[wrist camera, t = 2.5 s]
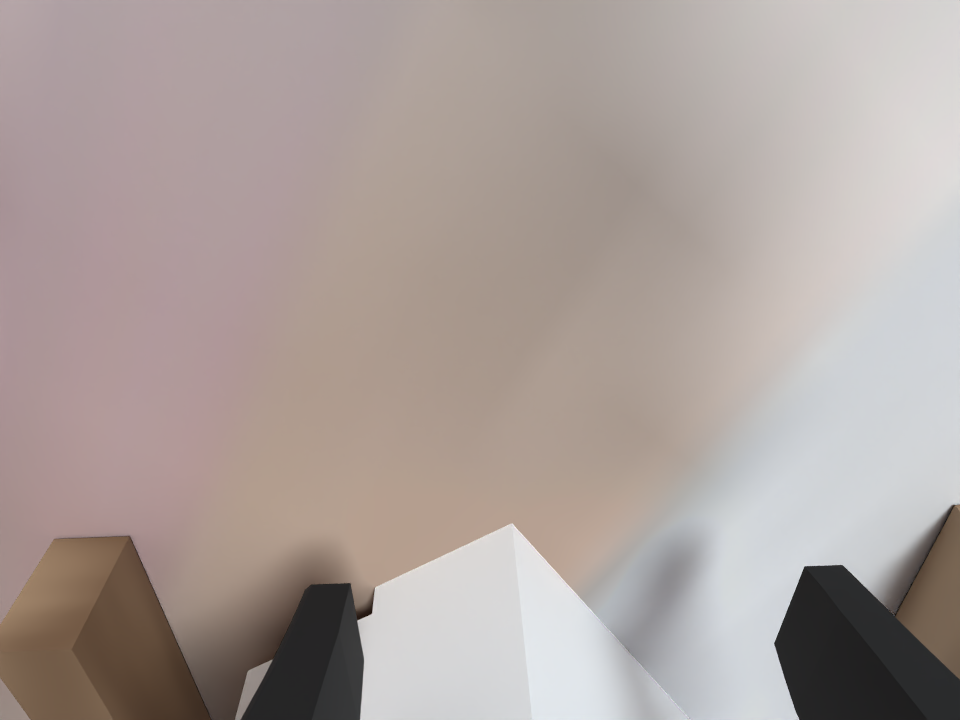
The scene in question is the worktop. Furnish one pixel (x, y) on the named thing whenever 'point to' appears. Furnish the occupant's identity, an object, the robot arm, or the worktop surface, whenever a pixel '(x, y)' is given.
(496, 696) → the bracket
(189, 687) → the brown rectangular beams
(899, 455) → the worktop surface
